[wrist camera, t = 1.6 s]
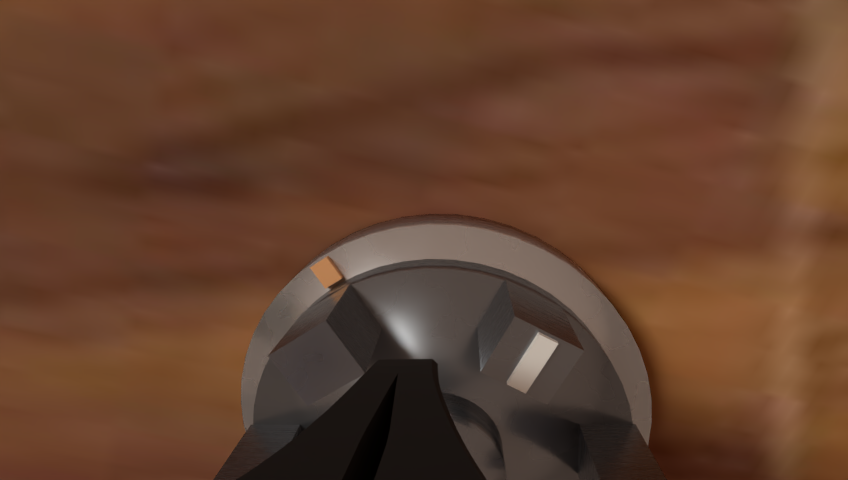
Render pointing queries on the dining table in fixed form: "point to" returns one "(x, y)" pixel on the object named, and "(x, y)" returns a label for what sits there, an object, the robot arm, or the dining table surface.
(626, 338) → the cap base
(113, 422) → the dining table surface
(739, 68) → the dining table surface
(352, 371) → the finned metal hub
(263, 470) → the robot arm
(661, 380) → the dining table surface
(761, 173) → the dining table surface
